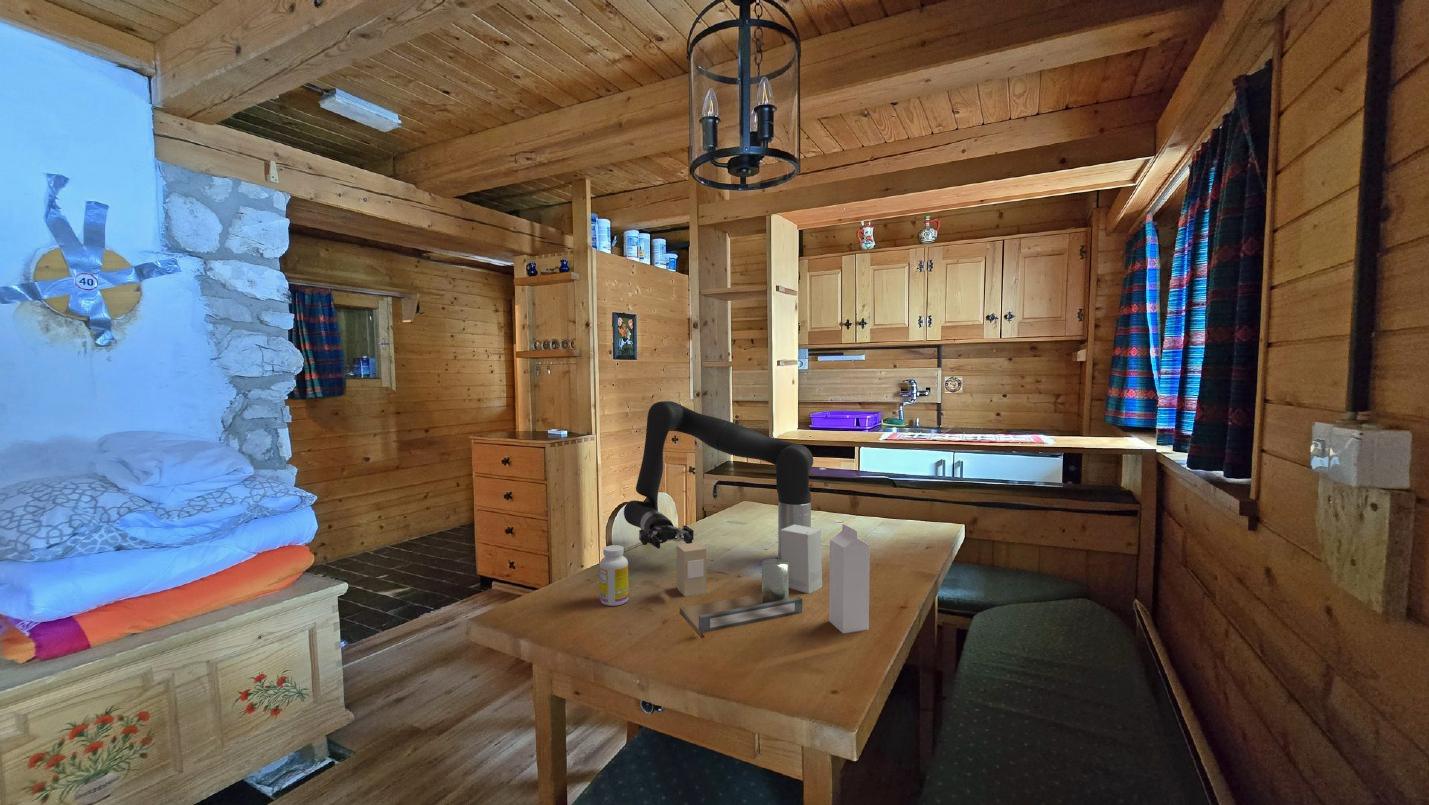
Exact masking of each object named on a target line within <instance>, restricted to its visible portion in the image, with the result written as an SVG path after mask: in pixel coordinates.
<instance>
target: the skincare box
mask: <svg viewBox="0 0 1429 805" xmlns="http://www.w3.org/2000/svg"><path fill="white" fill-rule="evenodd" d="M811 527H812V526H811ZM811 527H806V526H800V525H795V524H794V525H791V526H789V527H787V528H784V529H781V530H780V537H781V559H782V560H785V561H787V562H788V563H789V589H791V590H796V591H798V592H802V593H805V594H811V593H814V592H815V591H817V590H820V589H821V588H823V572H822V571H823V570H822V568H823V566H822V565H823V562H822V560H823V559H822V531H821V530H822V529H821V528H815V527H812V528H811Z"/></svg>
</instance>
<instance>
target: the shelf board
mask: <svg viewBox="0 0 1429 805" xmlns="http://www.w3.org/2000/svg"><path fill="white" fill-rule="evenodd" d="M801 613H803V598H801V597H800V596H798V597H792V598H789V599H786V600H781V601H775V602H770V603H764V604H762V593H757V594H753V595H745V596H740V597H734V598H728V599H723V600H718V601H711V602H706V603H700V604H694V605H689V606H682V607H679V615H681V616H682V618H683V619H684V620H685V621H686V622H687V624H688V625H690V627H691V628H692V629H693V630H694V631H695V632H696V634H697V635H698V636H699V637H700V638H701V639H702V638H705V637H706V636H705V635H704V634H703V633H704V632H710V631H713V630H719V629H724V628H729V627H730V628H731V627H734V626H741V625H745V624H751V623H755V622H760V621H766V620H767V621H768V620H770V619H776V618H782V617H787V616H793V615H796V614H801Z"/></svg>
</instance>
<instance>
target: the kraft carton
mask: <svg viewBox="0 0 1429 805" xmlns="http://www.w3.org/2000/svg"><path fill="white" fill-rule="evenodd" d="M676 588H677V589H676V590H678V591H679V592H680V594H682V595H683V597H690V596H696V595H697V596H698V595H702V594H707V548H706V547H704V546H703V545H702V544H701V543H699V542H698V541H697V542H692V543H689V544H687V543H683V544H676Z"/></svg>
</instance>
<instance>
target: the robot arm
mask: <svg viewBox="0 0 1429 805" xmlns="http://www.w3.org/2000/svg"><path fill="white" fill-rule="evenodd" d="M671 431H673V432H677V433H682V434H686V435H688V436H692V437H695V438H697V440H700V441H701V442H702V443H703V444H705V445H707V446H709V447H710V448H712V449H714V450H717V451H719V452H723V453H725V454H728V455H730V456H733V457H739V458H744V459H753V460H759V461H763V462H767V463H770V464H773V465H774V466H775V475H776V476H775V477H776V478H775V479H776V480H775V481H776V493H777V495H778V496H777V498H778V499H777V500H778V501H777V502H778V503H777V504H778V507H777V509H778V510H777V515H778V516H777V517H778V520H777V522H778V524H777V525H778V527H777V528H778V529H777V530H778V533H777V534H778V536H777V537H778V538H777V539H778V540H777V542H778V543H777V545H778V546H777V548H778V549H777V551H778V552H777V559H781V537H780V530H781V529H784V528H787V527H789V526H791V525H794V524H795V525H800V526H806V527H811V528H813V527H812V526H811V525H812V493H811V491H810V470H812V467H813V464H814V456H813V453H812V452H811V451H810V449H809V448H807V446H805V445H803V444H799V443H795V442H790V441H785V440H782V439H777V438H774V437H770V436H769V435H766V434H763V433H761V432H760V431H759V432H758V431H756V430H753V429H751V428H748V427H745V426H744V425H740V424H738V423H735V422H731V421H729V420H725V419H722V418H720V417H719V418H718V417H715V416H712V415H707V414H702V413H699V412H697V411H695V410H692V409H690V408H689V407H688V408H687V407H686V406H683V405H681V404H679V403H677V402H676V401H669V400H668V401H667V400H666V401H665V400H664V401H658V402H655V403H653V404H652V405H651V406H650V408H649V409H648V412H647V418H646V431H645V441H644V448H643V455H642V461H641V466H640V468H639V474H638V476H637V481H636V485H635V491H636V492H637V493H638V494H639V495H641V496H643V497H646V498H647V501H644V500H643V501H642V500H635V499H634V500H630V501H629V502H627V503H626V504H625V506H624V508H623V517H624V519H625V521H626V522H627V523H628V524H629V525H631V526H634V527H636V528H640V529H639V530H638V532H639V533H638V540H639V541H640V543H641V544H642V545H644V546H647V545H648V544H649V545H651V546H653V547H655V548H656V549H661V544H665V543H667V542H670V541H672V542H673V541H674V542H681V541H682V542H684V544H689V543H693V540H694V538H695V537H694V534H695V533H694V532H695V530H693V529H692V528H690V527H689V526H687V525H682V528H681V527H677V526H674V524H673V522H672V520H670V519H669V518H668V517H667V516H665V515H664V514H663V513H662V512H660V511H659V504H658V503H659V502H658V498H659V491H660V490H659V489H660V485H661V481H662V476H663V473H664V472H663V470H664V448H665V442H666V439H667V436H668V434H669V432H671Z"/></svg>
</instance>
